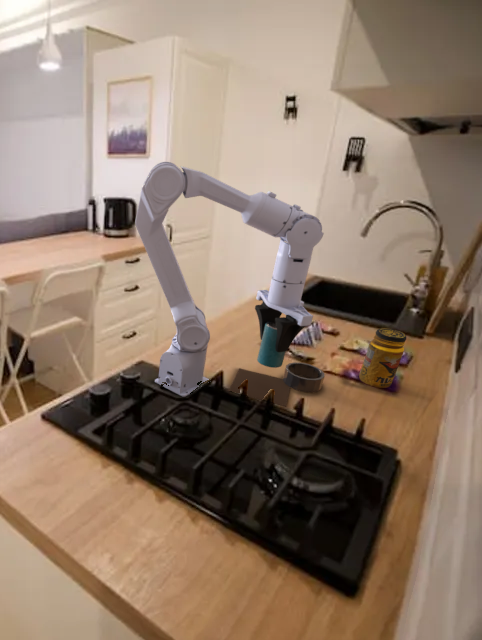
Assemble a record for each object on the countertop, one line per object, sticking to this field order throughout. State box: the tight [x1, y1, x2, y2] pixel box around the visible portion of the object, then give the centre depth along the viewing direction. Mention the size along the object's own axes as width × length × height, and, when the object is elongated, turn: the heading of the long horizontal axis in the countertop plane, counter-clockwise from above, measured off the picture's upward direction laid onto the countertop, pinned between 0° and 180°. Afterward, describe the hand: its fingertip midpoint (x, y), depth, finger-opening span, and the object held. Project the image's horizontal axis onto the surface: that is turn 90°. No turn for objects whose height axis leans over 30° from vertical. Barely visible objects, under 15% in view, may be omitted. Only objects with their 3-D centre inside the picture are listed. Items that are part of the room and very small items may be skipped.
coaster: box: [228, 368, 291, 408], centre depth 85 cm, size 11×11×1 cm
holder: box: [282, 361, 326, 393], centre depth 86 cm, size 7×7×4 cm
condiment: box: [358, 327, 407, 389], centre depth 86 cm, size 7×8×12 cm
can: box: [256, 321, 286, 369], centre depth 81 cm, size 5×5×8 cm
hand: (273, 345), depth 81 cm, fingers closed on can, 5 cm apart
